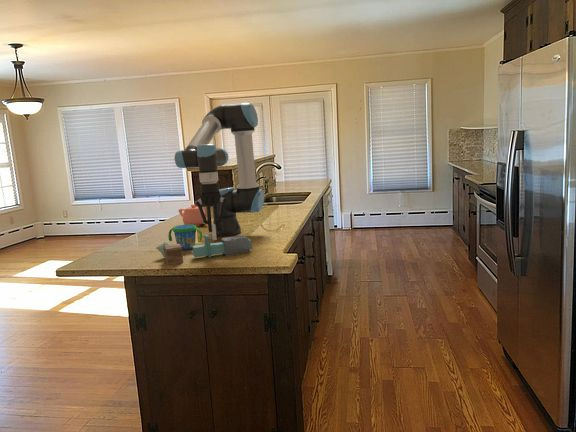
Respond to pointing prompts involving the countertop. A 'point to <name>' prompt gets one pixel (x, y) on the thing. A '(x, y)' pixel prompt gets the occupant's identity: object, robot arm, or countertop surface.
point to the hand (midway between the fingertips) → (214, 239)
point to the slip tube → (211, 248)
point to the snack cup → (185, 235)
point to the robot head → (162, 248)
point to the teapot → (192, 216)
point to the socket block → (173, 254)
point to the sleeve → (236, 245)
